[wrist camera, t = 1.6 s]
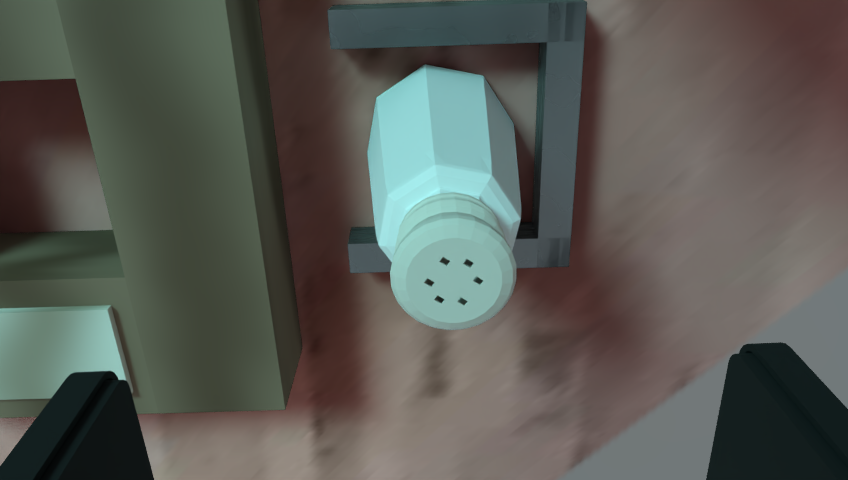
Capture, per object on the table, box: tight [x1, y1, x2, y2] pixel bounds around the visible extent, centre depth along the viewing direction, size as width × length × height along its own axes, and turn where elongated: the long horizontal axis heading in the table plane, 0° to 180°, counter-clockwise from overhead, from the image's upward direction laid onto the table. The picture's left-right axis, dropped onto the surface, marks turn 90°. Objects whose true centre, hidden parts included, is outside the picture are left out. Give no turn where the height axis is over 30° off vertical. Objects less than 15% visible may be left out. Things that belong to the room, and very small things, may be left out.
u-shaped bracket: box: [327, 0, 587, 273], centre depth 24 cm, size 8×9×2 cm
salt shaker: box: [367, 64, 521, 330], centre depth 20 cm, size 5×5×11 cm
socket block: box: [0, 0, 302, 418], centre depth 23 cm, size 16×18×4 cm
